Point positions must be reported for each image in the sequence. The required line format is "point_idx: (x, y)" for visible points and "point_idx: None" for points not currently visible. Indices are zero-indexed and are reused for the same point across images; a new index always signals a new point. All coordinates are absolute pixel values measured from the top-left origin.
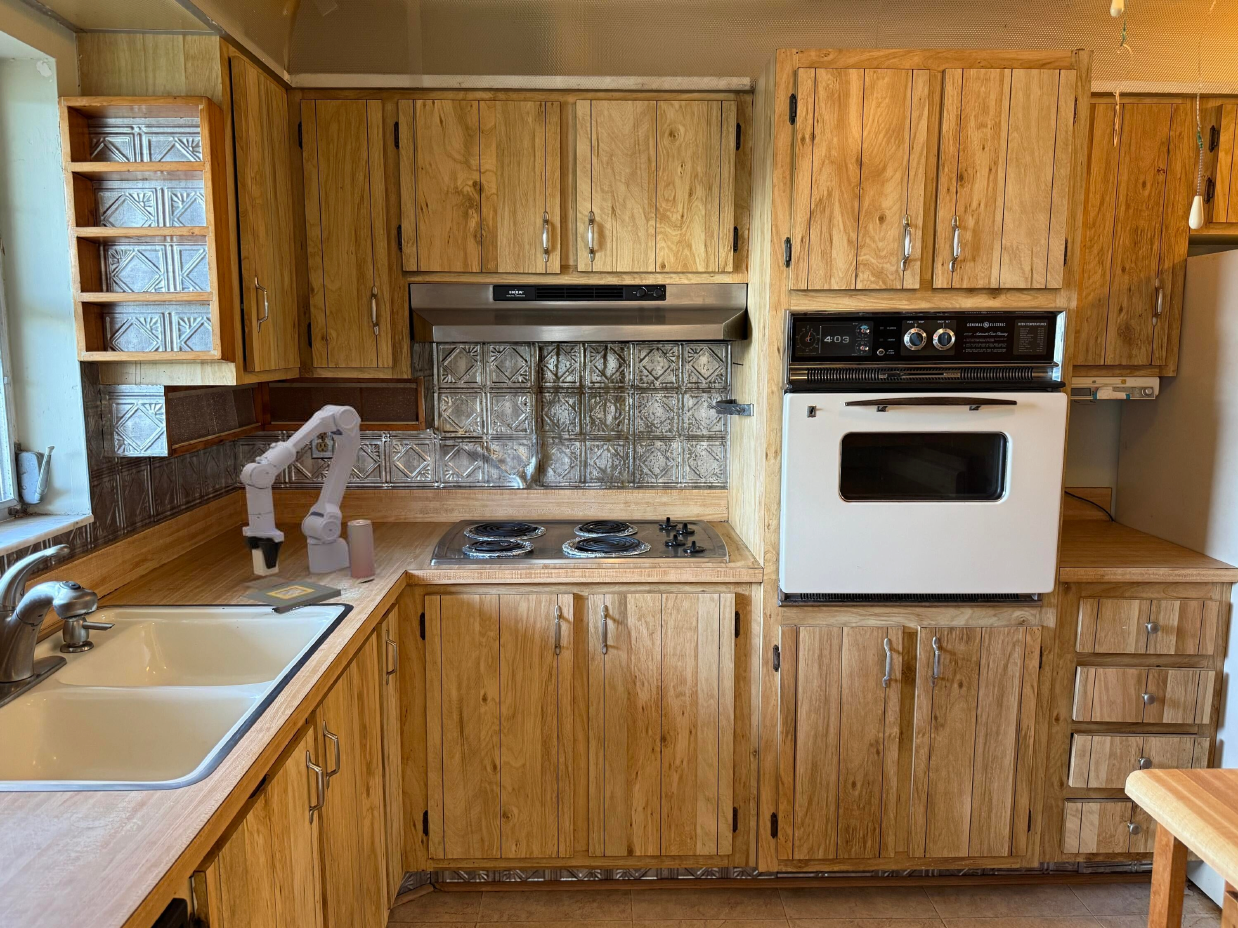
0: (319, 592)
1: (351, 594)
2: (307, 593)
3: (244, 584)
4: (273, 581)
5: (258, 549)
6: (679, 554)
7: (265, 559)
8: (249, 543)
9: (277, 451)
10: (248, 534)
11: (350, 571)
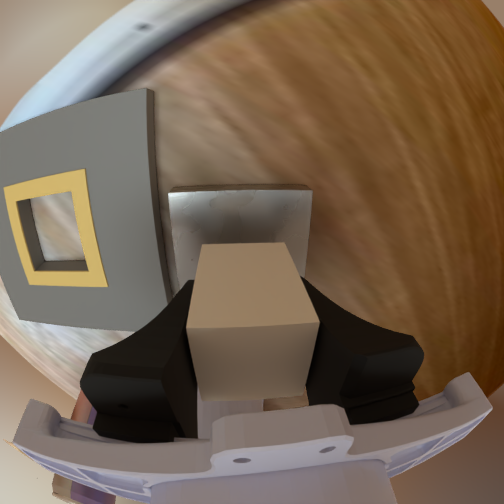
0: (16, 280)
1: (25, 323)
2: (21, 258)
3: (299, 190)
4: None
5: (276, 346)
6: None
7: (179, 303)
8: (343, 347)
9: None
10: (248, 437)
11: None
